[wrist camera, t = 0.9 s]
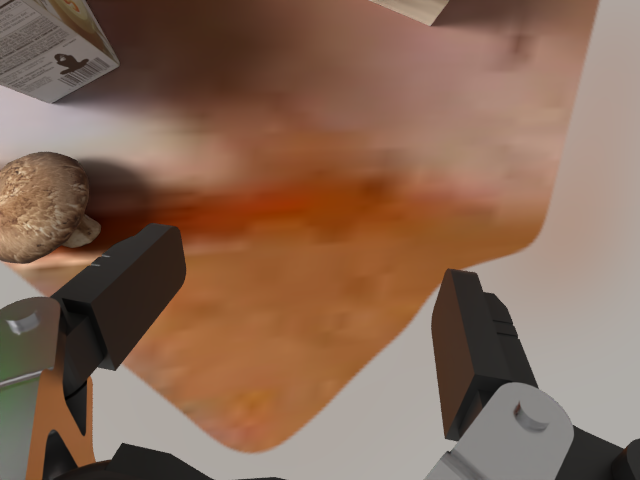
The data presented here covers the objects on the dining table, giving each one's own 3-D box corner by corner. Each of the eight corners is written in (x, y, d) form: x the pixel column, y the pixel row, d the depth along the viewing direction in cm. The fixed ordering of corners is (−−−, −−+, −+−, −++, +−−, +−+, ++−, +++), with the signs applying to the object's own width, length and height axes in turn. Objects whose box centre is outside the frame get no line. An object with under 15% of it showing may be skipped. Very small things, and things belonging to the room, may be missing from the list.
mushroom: (118, 265, 25) (16, 236, 20) (44, 285, 28) (-63, 264, 22) (132, 167, 28) (47, 119, 23) (64, 194, 31) (-26, 157, 25)
